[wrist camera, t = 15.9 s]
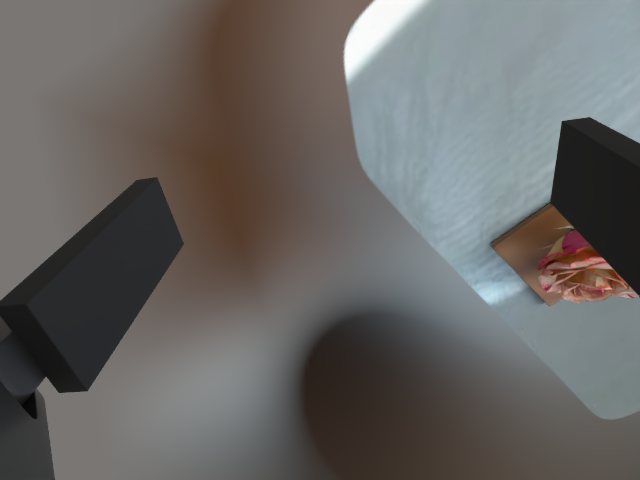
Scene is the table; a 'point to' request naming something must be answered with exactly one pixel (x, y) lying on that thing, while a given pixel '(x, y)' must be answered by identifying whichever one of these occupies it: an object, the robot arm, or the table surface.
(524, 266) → the brown wooden square board
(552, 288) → the flower
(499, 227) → the table surface
